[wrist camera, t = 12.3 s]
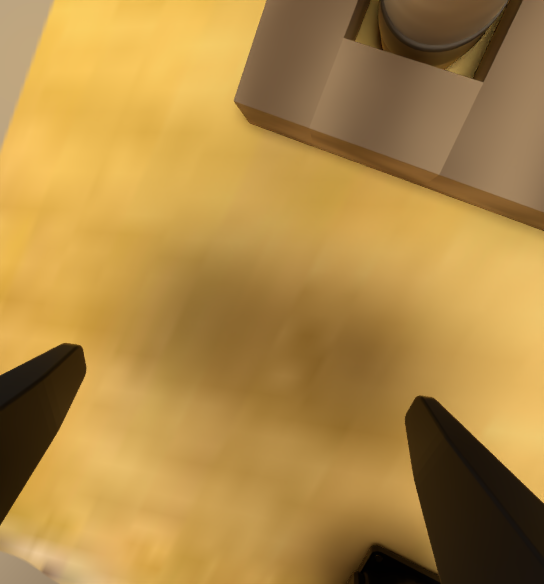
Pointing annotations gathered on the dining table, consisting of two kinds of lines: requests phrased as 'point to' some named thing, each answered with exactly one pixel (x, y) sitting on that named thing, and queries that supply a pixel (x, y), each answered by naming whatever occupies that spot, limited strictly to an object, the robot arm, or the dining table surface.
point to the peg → (435, 27)
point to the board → (407, 103)
